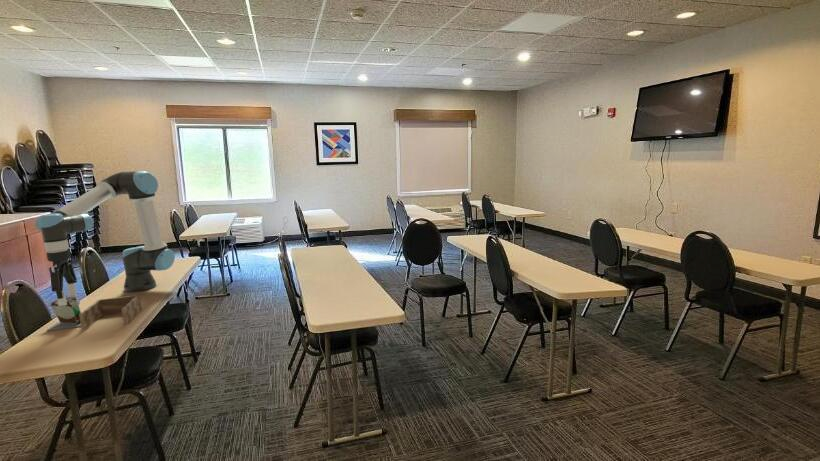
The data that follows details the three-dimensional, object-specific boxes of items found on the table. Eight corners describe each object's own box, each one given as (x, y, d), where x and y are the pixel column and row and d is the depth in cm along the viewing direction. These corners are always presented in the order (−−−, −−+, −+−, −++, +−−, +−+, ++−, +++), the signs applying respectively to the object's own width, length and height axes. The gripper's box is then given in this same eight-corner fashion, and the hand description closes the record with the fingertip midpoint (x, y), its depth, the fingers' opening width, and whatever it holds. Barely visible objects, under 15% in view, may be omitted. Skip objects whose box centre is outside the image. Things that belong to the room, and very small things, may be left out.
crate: (100, 314, 190) (98, 299, 189) (141, 309, 195) (139, 294, 194) (81, 330, 171) (79, 314, 170) (127, 324, 176) (124, 308, 175)
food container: (93, 316, 182) (85, 296, 179) (80, 324, 176) (71, 304, 173) (71, 315, 185) (63, 295, 181) (57, 322, 179) (49, 302, 176)
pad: (57, 323, 180) (57, 322, 180) (94, 318, 184) (94, 317, 184) (46, 331, 171) (46, 330, 171) (86, 326, 176) (86, 325, 176)
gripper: (59, 246, 181) (69, 294, 185) (32, 257, 161) (44, 311, 165) (79, 244, 183) (89, 292, 188) (55, 255, 163) (66, 308, 167)
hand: (68, 301), depth 176 cm, fingers open, 9 cm apart
